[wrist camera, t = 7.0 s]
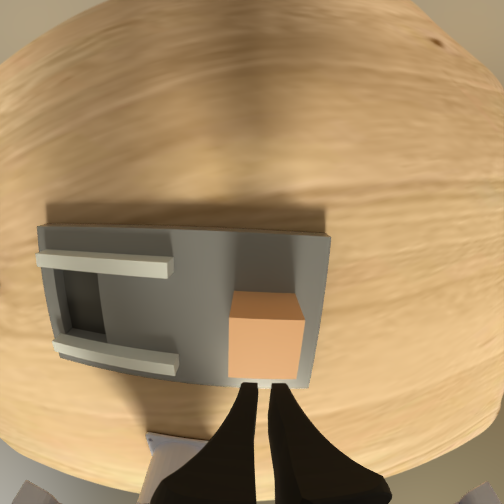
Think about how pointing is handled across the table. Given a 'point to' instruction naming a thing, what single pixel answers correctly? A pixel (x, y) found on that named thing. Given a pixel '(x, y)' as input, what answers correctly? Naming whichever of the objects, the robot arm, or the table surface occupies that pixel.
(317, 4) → the table surface
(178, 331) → the channel
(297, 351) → the block
